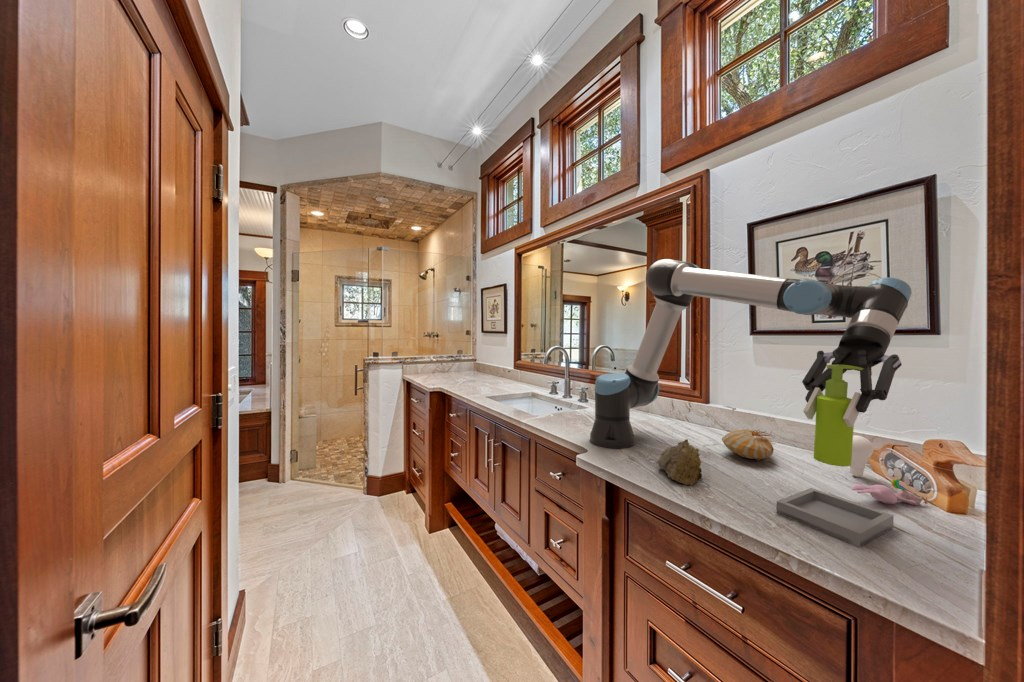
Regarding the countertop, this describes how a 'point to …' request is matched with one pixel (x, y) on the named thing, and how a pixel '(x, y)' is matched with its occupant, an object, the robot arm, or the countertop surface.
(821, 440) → the soap dispenser
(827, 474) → the countertop surface
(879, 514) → the holder tray
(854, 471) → the lightbulb
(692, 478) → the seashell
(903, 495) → the rabbit figure
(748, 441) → the nautilus
